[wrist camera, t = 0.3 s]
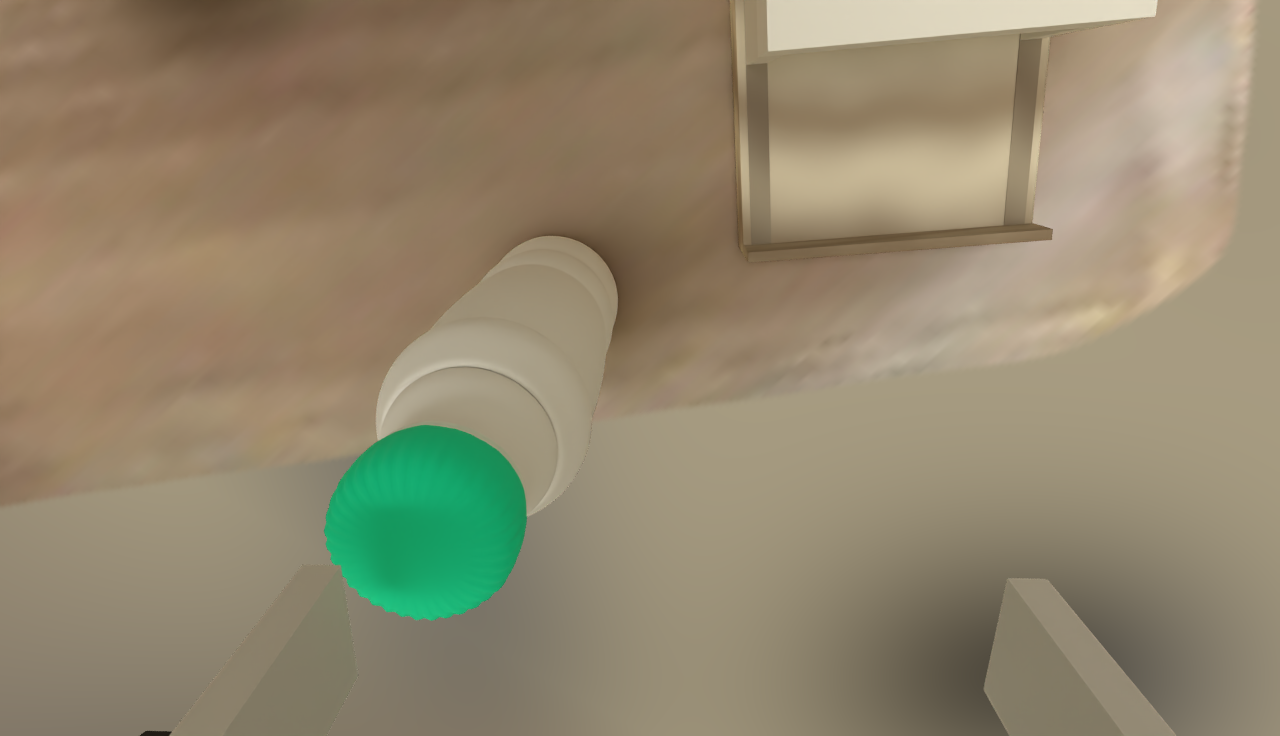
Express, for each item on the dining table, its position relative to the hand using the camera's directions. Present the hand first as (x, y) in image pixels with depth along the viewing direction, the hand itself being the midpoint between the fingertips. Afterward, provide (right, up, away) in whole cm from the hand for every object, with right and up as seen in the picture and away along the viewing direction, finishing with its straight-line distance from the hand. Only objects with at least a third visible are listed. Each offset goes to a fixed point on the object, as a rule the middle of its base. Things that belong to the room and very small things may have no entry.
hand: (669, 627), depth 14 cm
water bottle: (-5, +9, +26) cm, 28 cm away
